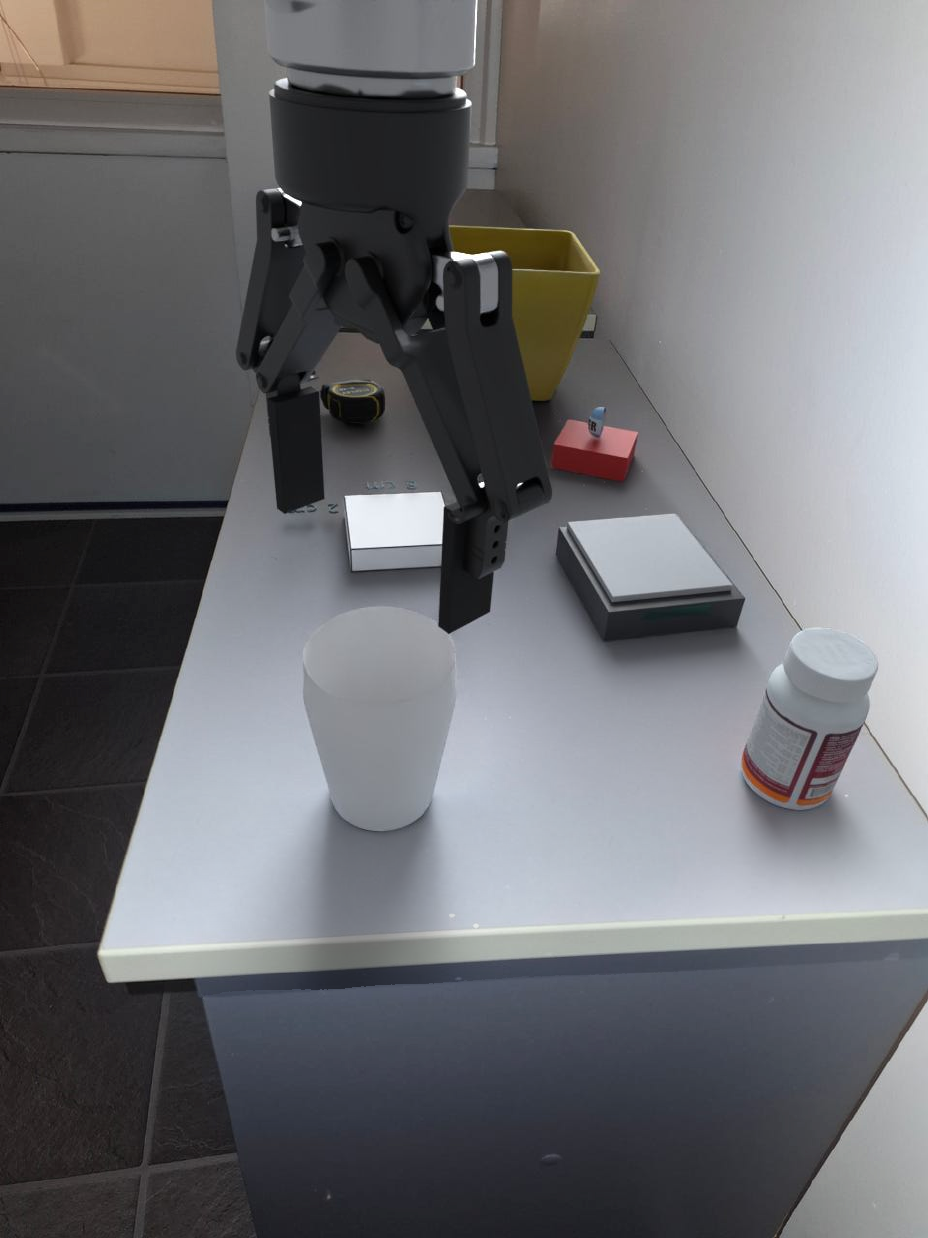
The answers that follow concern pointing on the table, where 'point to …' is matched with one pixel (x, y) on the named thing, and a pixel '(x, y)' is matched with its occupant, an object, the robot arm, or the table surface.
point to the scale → (646, 577)
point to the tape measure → (354, 400)
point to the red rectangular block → (594, 448)
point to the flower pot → (540, 294)
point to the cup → (380, 711)
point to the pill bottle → (809, 718)
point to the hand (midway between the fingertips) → (375, 557)
